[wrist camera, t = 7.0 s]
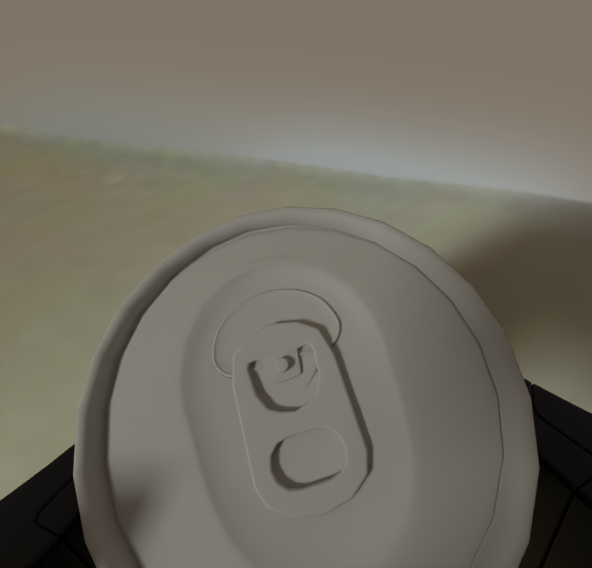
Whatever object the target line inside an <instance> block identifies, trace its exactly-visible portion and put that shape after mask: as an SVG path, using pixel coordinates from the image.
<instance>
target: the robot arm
mask: <svg viewBox="0 0 592 568" xmlns="http://www.w3.org/2000/svg"><path fill="white" fill-rule="evenodd" d="M524 381H525V384H526V386H527V389H528V392H529V394H530V397H531V403H532V411H533V419H534V427H535V435H536V443H537V451H538V459H539V467H540V469H539V476H538V483H537V490H536V498H535V505H534V512H533V519H532V526H531V533H530V540H529V544H528V546H527V549H526V551H525V553H524V555H523V558H522V560H521V562H520V564H519V567H518V568H592V413H590V412H587V411H585V410H583V409H581V408H579V407H578V406H576V405H574V404H572V403H570V402H568V401H566V400H564V399H562V398H560V397H558V396H556V395H554V394H552V393H550V392H549V391H547V390H545V389H543V388H541V387H539V386H537V385H536V384H533V385H532V384H531V382H530V381H528V380H526V379H524ZM74 452H75V444H74V445H73V446H72V447H70V448H69V449H68V450H66V451H65V452H64V453H63V454H61V455H60V456H59V457H58V458H56V459H55V460H54V461H53V462H51V463H50V464H49V465H47V466H46V467H45V468H43V469H42V470H41V471H39V472H38V473H37V474H35V475H34V476H33V477H31V478H30V479H29V480H27V481H26V482H25V483H23V484H22V485H21V486H19V487H18V488H17V489H15V490H14V491H13V492H11V493H10V494H9V495H7V496H6V497H4V498H3V499H2V500H0V568H96V566H95V563H94V561H93V559H92V557H91V554H90V552H89V550H88V548H87V546H86V543H85V540H84V534H83V528H82V523H81V517H80V511H79V506H78V500H77V495H76V489H75V483H74V478H73V468H74Z"/></svg>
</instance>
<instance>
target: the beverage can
mask: <svg viewBox="0 0 592 568" xmlns="http://www.w3.org/2000/svg"><path fill="white" fill-rule="evenodd" d="M539 469H540V467H539V459H538V451H537V443H536V435H535V427H534V419H533V411H532V403H531V397H530V394H529V392H528V389H527V386H526V384H525V381H524V378H523V376H522V373H521V371H520V368H519V365H518V363H517V360H516V357H515V355H514V352H513V350H512V347H511V344H510V342H509V339H508V337H507V335H506V333H505V332H504V330H503V329H502V328H501V326H500V325H499V323H498V322H497V320H496V319H495V317H494V316H493V315H492V313H491V312H490V310H489V309H488V307H487V306H486V304H485V303H484V302H483V300H482V299H481V297H480V296H479V294H478V293H477V291H476V290H475V289H474V287H473V286H472V285H471V284H470V283H469V282H468V281H467V280H466V279H465V278H463V277H462V276H461V275H460V274H459V273H458V272H457V271H456V270H455V269H454V268H452V267H451V266H450V265H449V264H448V263H447V262H446V261H445V260H444V259H443V258H441V257H440V256H439V255H438V254H437V253H436V252H435V251H434V250H433V249H431V248H430V247H428V246H427V245H425V244H423V243H421V242H419V241H417V240H416V239H414V238H412V237H410V236H408V235H406V234H405V233H403V232H401V231H399V230H397V229H396V228H394V227H392V226H390V225H388V224H386V223H385V222H381V221H378V220H374V219H371V218H367V217H364V216H360V215H356V214H353V213H349V212H346V211H342V210H339V209H330V208H305V207H284V208H278V209H273V210H268V211H262V212H257V213H252V214H246V215H241V216H238V217H236V218H234V219H231V220H229V221H227V222H225V223H222V224H220V225H218V226H215V227H213V228H211V229H209V230H206V231H204V232H202V233H200V234H197V235H195V236H194V237H193V238H191V239H190V240H188V241H187V242H186V243H184V244H183V245H182V246H180V247H179V248H178V249H176V250H175V251H173V252H172V253H171V254H169V255H168V256H167V257H165V258H164V259H163V260H161V261H160V262H158V263H157V264H156V265H155V266H154V267H153V268H152V269H151V270H150V271H149V273H148V274H147V275H146V276H145V277H144V278H143V279H142V281H141V282H140V283H139V284H138V285H137V286H136V288H135V289H134V290H133V291H132V292H131V293H130V294H129V296H128V297H127V298H126V299H125V300H124V301H123V302H122V304H121V305H120V307H119V308H118V310H117V312H116V314H115V316H114V318H113V319H112V321H111V323H110V325H109V327H108V328H107V330H106V332H105V334H104V336H103V338H102V339H101V341H100V343H99V345H98V347H97V348H96V350H95V352H94V354H93V358H92V361H91V364H90V368H89V371H88V375H87V378H86V382H85V385H84V389H83V392H82V396H81V399H80V403H79V406H78V410H77V420H76V436H75V452H74V468H73V478H74V483H75V489H76V495H77V500H78V506H79V511H80V517H81V523H82V528H83V534H84V540H85V543H86V546H87V548H88V550H89V552H90V554H91V557H92V559H93V561H94V563H95V566H96V568H518V567H519V564H520V562H521V560H522V558H523V555H524V553H525V551H526V549H527V546H528V544H529V540H530V533H531V526H532V519H533V512H534V505H535V498H536V490H537V483H538V476H539Z"/></svg>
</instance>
